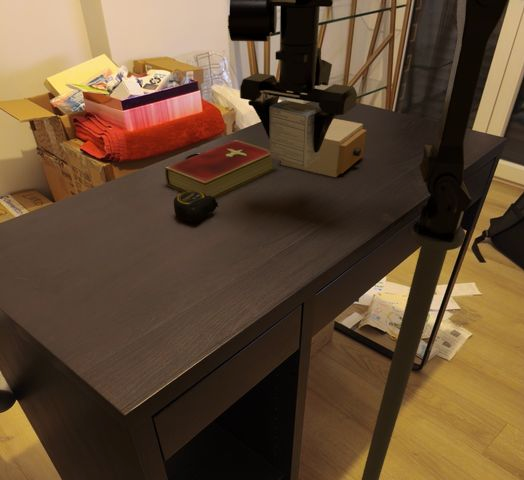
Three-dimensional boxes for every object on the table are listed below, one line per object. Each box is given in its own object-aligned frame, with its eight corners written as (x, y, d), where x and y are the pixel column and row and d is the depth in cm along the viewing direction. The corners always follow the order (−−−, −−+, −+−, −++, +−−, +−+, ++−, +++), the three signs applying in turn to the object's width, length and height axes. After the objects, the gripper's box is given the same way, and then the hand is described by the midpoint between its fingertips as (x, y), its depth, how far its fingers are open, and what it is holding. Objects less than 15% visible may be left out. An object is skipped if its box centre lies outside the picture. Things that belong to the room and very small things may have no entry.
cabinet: (358, 158, 111) (363, 123, 106) (335, 177, 103) (339, 141, 98) (306, 147, 116) (308, 113, 111) (280, 164, 108) (281, 129, 103)
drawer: (367, 157, 109) (371, 130, 105) (347, 174, 102) (350, 147, 98) (314, 145, 114) (316, 120, 110) (291, 161, 107) (292, 135, 103)
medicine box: (319, 161, 83) (323, 107, 78) (304, 169, 81) (307, 114, 75) (284, 150, 87) (285, 98, 81) (268, 157, 85) (268, 105, 79)
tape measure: (195, 228, 87) (193, 209, 84) (167, 218, 90) (165, 199, 87) (219, 214, 91) (217, 195, 88) (191, 204, 94) (190, 186, 91)
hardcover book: (166, 185, 100) (164, 165, 97) (235, 156, 112) (234, 137, 109) (206, 202, 94) (204, 181, 92) (274, 169, 106) (274, 150, 103)
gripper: (376, 38, 74) (362, 142, 84) (271, 28, 81) (271, 125, 91) (347, 52, 67) (336, 164, 77) (235, 39, 74) (240, 143, 84)
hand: (294, 147), depth 83 cm, fingers closed on medicine box, 8 cm apart
